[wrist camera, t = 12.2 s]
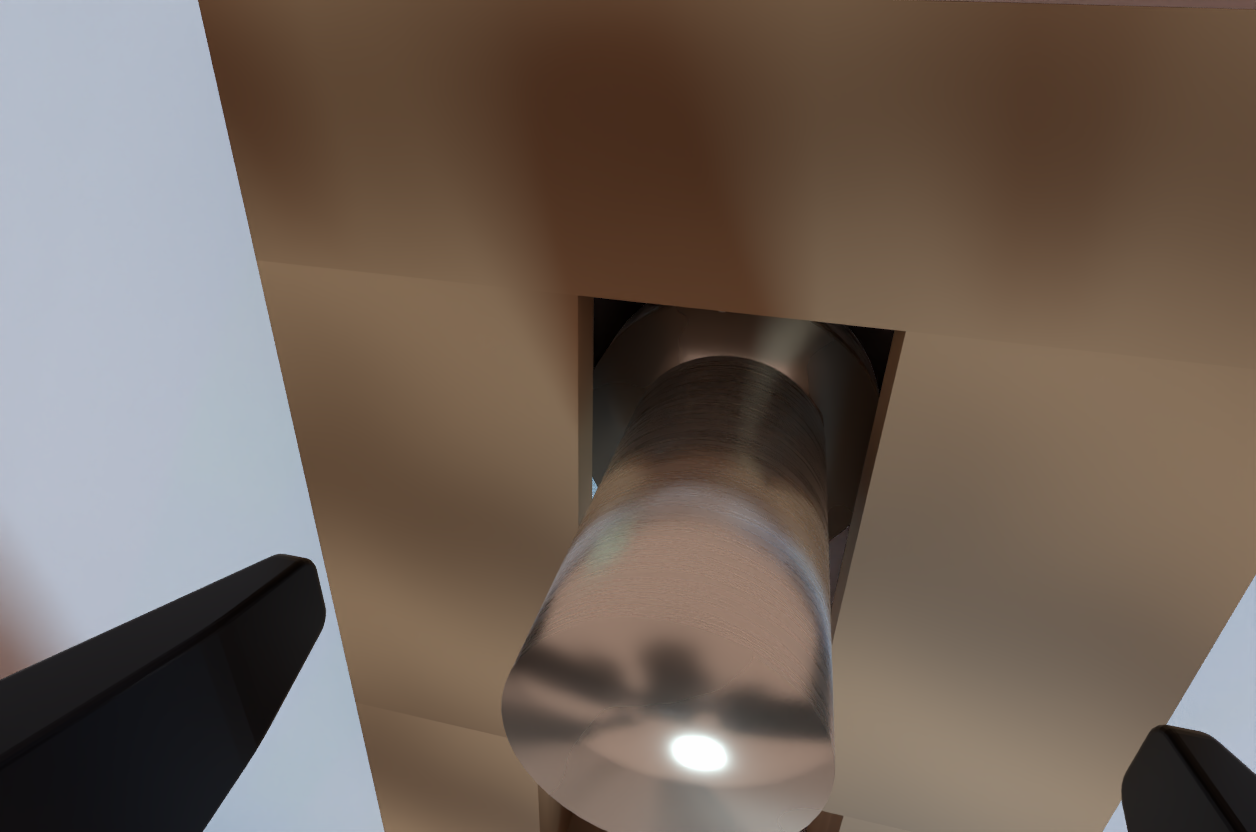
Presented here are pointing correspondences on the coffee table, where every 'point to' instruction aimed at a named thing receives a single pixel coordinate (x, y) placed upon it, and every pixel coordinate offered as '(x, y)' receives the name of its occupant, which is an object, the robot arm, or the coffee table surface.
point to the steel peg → (700, 579)
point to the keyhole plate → (787, 288)
